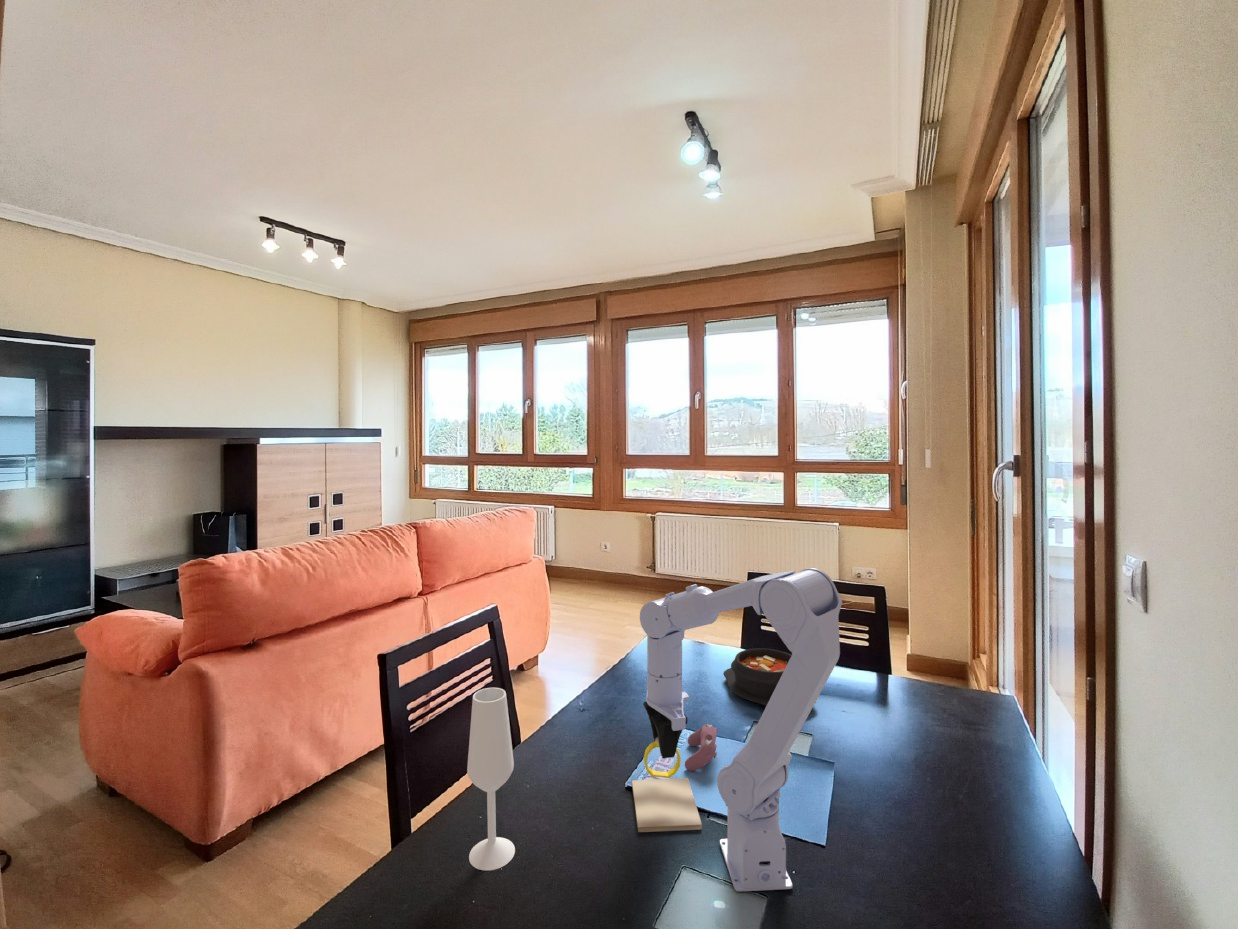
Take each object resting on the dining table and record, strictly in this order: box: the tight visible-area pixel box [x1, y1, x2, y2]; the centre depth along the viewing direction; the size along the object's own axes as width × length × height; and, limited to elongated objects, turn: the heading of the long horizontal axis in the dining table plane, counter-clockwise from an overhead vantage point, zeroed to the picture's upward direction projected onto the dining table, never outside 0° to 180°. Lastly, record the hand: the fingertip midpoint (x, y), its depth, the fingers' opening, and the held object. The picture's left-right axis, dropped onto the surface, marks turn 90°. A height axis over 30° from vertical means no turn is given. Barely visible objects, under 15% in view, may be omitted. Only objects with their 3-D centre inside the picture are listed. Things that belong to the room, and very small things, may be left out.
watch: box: [643, 737, 682, 779], centre depth 93 cm, size 6×3×6 cm, turn 94°
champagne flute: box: [466, 687, 516, 871], centre depth 83 cm, size 7×7×24 cm
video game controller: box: [684, 723, 718, 772], centre depth 107 cm, size 10×5×7 cm, turn 169°
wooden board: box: [631, 777, 703, 833], centre depth 94 cm, size 12×10×1 cm
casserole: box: [723, 647, 817, 707], centre depth 134 cm, size 25×19×8 cm
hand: (664, 751), depth 93 cm, fingers closed on watch, 3 cm apart
